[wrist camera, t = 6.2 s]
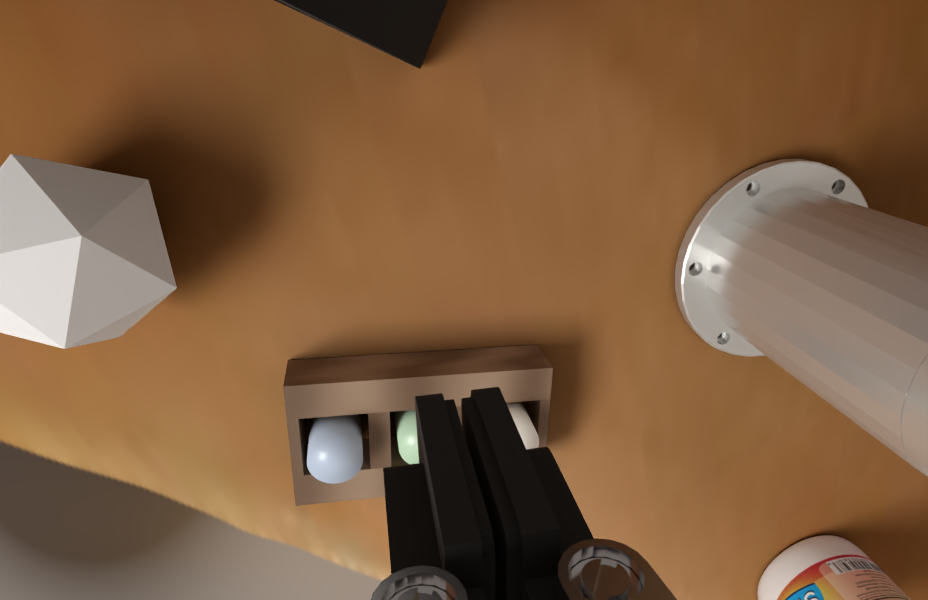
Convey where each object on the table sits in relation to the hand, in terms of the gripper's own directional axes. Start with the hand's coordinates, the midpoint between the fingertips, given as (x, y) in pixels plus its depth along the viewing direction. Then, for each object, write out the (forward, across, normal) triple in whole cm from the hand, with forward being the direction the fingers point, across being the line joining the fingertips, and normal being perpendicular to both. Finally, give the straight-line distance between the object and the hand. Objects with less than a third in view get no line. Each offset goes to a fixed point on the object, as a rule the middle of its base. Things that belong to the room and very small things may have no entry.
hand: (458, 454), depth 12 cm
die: (+23, +15, +1) cm, 27 cm away
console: (+23, -1, +14) cm, 27 cm away
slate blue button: (+22, +4, +13) cm, 26 cm away
